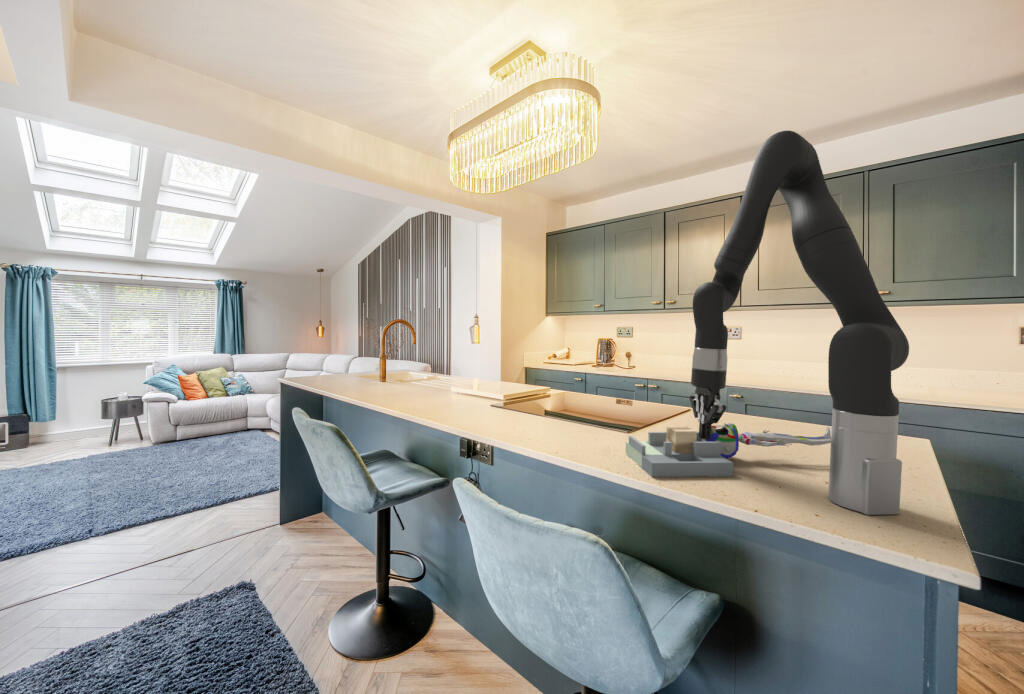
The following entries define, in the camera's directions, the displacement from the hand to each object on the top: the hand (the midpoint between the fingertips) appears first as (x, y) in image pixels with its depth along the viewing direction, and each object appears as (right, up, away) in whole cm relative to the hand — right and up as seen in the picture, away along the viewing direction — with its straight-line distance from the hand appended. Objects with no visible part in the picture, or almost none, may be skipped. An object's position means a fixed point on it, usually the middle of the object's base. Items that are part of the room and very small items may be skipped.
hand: (704, 438), depth 101 cm
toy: (+16, -3, 0) cm, 16 cm away
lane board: (-8, -5, -2) cm, 10 cm away
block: (-6, -2, -1) cm, 7 cm away
